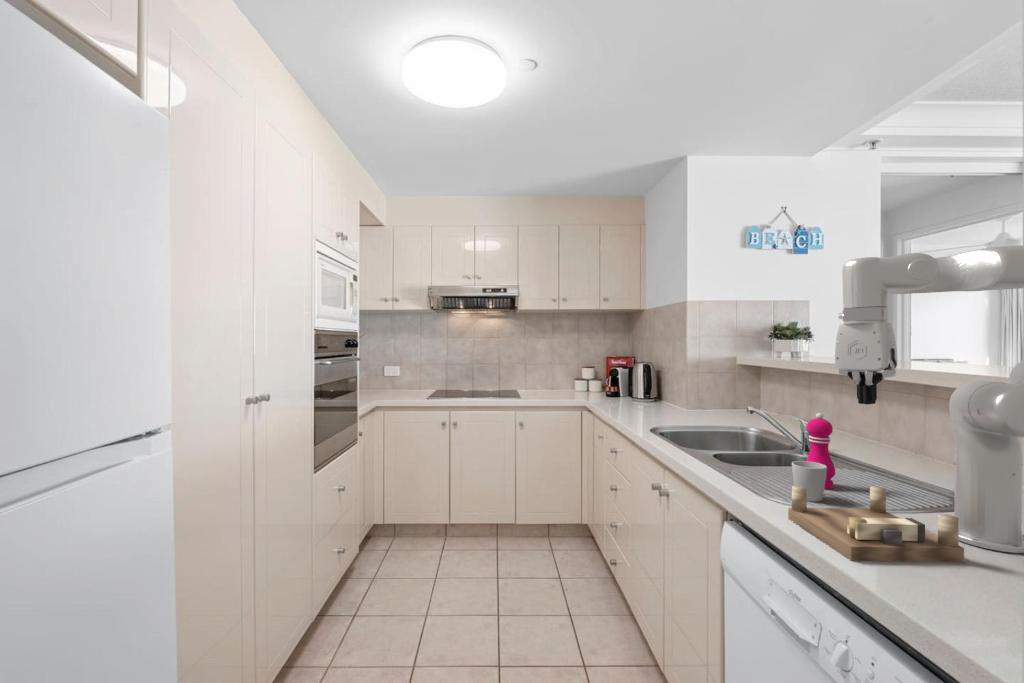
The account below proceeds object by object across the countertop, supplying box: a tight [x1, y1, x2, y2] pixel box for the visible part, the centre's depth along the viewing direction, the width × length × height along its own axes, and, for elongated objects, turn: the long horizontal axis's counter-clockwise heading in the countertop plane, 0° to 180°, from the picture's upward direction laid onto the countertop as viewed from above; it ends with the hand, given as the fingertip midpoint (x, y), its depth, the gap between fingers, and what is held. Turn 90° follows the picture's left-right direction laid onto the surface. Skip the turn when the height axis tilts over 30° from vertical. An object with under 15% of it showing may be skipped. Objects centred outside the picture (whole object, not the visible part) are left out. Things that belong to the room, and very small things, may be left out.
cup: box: [791, 460, 827, 503], centre depth 121 cm, size 8×10×8 cm
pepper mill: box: [805, 412, 836, 490], centre depth 130 cm, size 7×7×20 cm
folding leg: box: [847, 517, 926, 542], centre depth 89 cm, size 12×3×3 cm, turn 86°
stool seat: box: [787, 485, 965, 563], centre depth 95 cm, size 20×20×8 cm
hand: (866, 403), depth 100 cm, fingers closed
